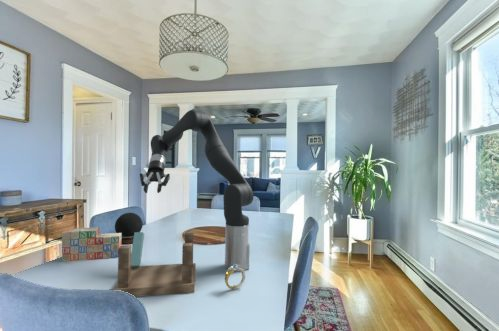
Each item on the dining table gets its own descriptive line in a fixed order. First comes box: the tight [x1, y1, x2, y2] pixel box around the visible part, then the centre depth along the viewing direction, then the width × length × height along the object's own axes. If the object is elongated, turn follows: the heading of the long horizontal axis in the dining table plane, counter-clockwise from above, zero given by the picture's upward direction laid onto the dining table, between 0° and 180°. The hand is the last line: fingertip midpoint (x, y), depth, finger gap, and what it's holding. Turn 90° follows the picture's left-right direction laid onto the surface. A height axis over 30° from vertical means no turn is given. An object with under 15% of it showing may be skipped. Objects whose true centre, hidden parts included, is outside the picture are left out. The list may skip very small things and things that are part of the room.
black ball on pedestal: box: [114, 212, 143, 246], centre depth 134 cm, size 13×13×15 cm
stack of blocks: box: [61, 226, 122, 263], centre depth 111 cm, size 21×6×12 cm, turn 106°
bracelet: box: [224, 264, 246, 291], centre depth 84 cm, size 7×3×8 cm, turn 114°
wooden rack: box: [112, 232, 197, 297], centre depth 88 cm, size 24×18×14 cm
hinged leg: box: [131, 231, 145, 267], centre depth 96 cm, size 3×3×12 cm
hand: (152, 191), depth 115 cm, fingers open, 4 cm apart
